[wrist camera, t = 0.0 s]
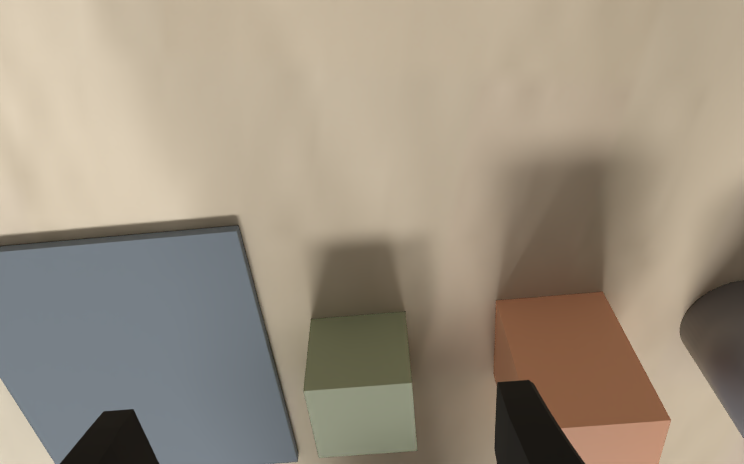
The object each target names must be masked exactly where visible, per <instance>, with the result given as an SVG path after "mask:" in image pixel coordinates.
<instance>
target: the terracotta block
mask: <svg viewBox="0 0 744 464" xmlns="http://www.w3.org/2000/svg"><path fill="white" fill-rule="evenodd" d="M494 377H495V381H496V385H497V382H506V381H519V380H530V381H531V382H532V383H534V385H535V386H536V388H537V390H538V392H539V394H540V395H541V397H542V399H543V401H544V402H545V404H546V406H547V407H548V409H549V410H550V412H551V414H552V415H553V417H554V418H555V420H556V422H557V423H558V425H559V426H560V428H561V429H562V431H563V432H564V434H565V435H566V437H567V438H568V440H569V441H570V443H571V444H572V446H573V447H574V449H575V450H576V451H577V453H578V454H579V456H580V457H581V458H582V460H583V461H584V463H585V464H659V460H660V457H661V453H662V450H663V446H664V443H665V439H666V436H667V432H668V429H669V426H670V422H671V419H670V417H669V416H668V414H667V412H666V410H665V408H664V406H663V404H662V402H661V401H660V399H659V397H658V395H657V393H656V391H655V389H654V387H653V385H652V384H651V382H650V380H649V378H648V376H647V374H646V372H645V370H644V369H643V367H642V365H641V363H640V361H639V359H638V357H637V355H636V353H635V352H634V350H633V348H632V346H631V344H630V342H629V340H628V338H627V337H626V335H625V333H624V331H623V329H622V327H621V325H620V323H619V321H618V320H617V318H616V316H615V314H614V312H613V310H612V308H611V306H610V305H609V303H608V301H607V299H606V297H605V295H604V293H603V292H594V293H581V294H569V295H557V296H544V297H532V298H520V299H508V300H496V315H495V348H494Z"/></svg>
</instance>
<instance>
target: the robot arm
mask: <svg viewBox="0 0 744 464" xmlns="http://www.w3.org/2000/svg"><path fill="white" fill-rule="evenodd" d="M495 454H496V460H497V464H585V463H584V461H583V460H582V458H581V457H580V456H579V454H578V453H577V451H576V450H575V449H574V447H573V446H572V444H571V443H570V441H569V440H568V438H567V437H566V435H565V434H564V432H563V431H562V429H561V428H560V426H559V425H558V423H557V422H556V420H555V418H554V417H553V415H552V414H551V412H550V410H549V409H548V407H547V406H546V404H545V402H544V401H543V399H542V397H541V395H540V394H539V392H538V390H537V388H536V386H535V385H534V383H532V382H531V381H530V380H519V381H506V382H497V398H496V423H495ZM60 464H159V462H158V460H157V458H156V456H155V454H154V451H153V449H152V447H151V445H150V443H149V441H148V439H147V437H146V435H145V432H144V430H143V428H142V426H141V424H140V422H139V420H138V418H137V416H136V413H135V411H134V409H127V410H114V411H103V413H102V414H101V415H100V416H99V417H98V418H97V420H96V421H95V422H94V423H93V424H92V425H91V427H90V428H89V429H88V430H87V431H86V432H85V434H84V435H83V436H82V437H81V439H80V440H79V441H78V442H77V443H76V445H75V446H74V447H73V448H72V449H71V451H70V452H69V453H68V454H67V455H66V457H65V458H64V459H63V460H62V461H61V463H60Z"/></svg>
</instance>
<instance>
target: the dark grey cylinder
mask: <svg viewBox="0 0 744 464" xmlns="http://www.w3.org/2000/svg"><path fill="white" fill-rule="evenodd" d="M680 337H681V340H682V342H683V344H684V345H685V347H686V348H687V350H688V351H689V353H690V355H691V356H692V358H693V359H694V361H695V362H696V364H697V366H698V367H699V369H700V370H701V372H702V374H703V375H704V377H705V378H706V380H707V381H708V383H709V385H710V386H711V388H712V389H713V391H714V392H715V394H716V396H717V397H718V399H719V400H720V402H721V404H722V405H723V407H724V408H725V410H726V411H727V413H728V415H729V416H730V418H731V419H732V421H733V422H734V424H735V426H736V427H737V429H738V430H739V432H740V433H741V435H742V437H743V438H744V280H743V281H736V282H732V283H729V284H725V285H723V286H720V287H718V288H716V289H714V290H712V291H710V292H708V293H707V294H705V295H703V296H702V297H701V298H699V299H698V300H697V301H696V302H695V303H694V304H693V305H692V306H691V307H690V308H689V309H688V311H687V312H686V314H685V315H684V317H683V319H682V322H681V325H680Z"/></svg>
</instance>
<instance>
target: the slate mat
mask: <svg viewBox="0 0 744 464" xmlns="http://www.w3.org/2000/svg"><path fill="white" fill-rule="evenodd" d="M0 378H1V380H2V381H3V383H4V384H5V386H6V387H7V389H8V391H9V392H10V394H11V395H12V397H13V398H14V400H15V402H16V403H17V405H18V406H19V408H20V409H21V411H22V412H23V414H24V416H25V417H26V419H27V420H28V422H29V423H30V425H31V427H32V428H33V430H34V431H35V433H36V434H37V436H38V438H39V439H40V441H41V442H42V444H43V445H44V447H45V449H46V450H47V452H48V453H49V455H50V456H51V458H52V459H53V461H54V463H55V464H60V463H61V461H62V460H63V459H64V458H65V457H66V455H67V454H68V453H69V452H70V451H71V449H72V448H73V447H74V446H75V445H76V443H77V442H78V441H79V440H80V439H81V437H82V436H83V435H84V434H85V432H86V431H87V430H88V429H89V428H90V427H91V425H92V424H93V423H94V422H95V421H96V420H97V418H98V417H99V416H100V415H101V414H102V413H103V411H114V410H127V409H134V411H135V413H136V416H137V418H138V420H139V422H140V424H141V426H142V428H143V430H144V432H145V435H146V437H147V439H148V441H149V443H150V445H151V447H152V449H153V451H154V454H155V456H156V458H157V460H158V462H159V464H275V463H289V462H298V452H297V448H296V444H295V440H294V436H293V432H292V429H291V425H290V421H289V417H288V413H287V409H286V406H285V402H284V398H283V394H282V390H281V387H280V383H279V379H278V375H277V371H276V367H275V364H274V360H273V356H272V352H271V348H270V344H269V341H268V337H267V333H266V329H265V325H264V322H263V318H262V314H261V310H260V306H259V302H258V299H257V295H256V291H255V287H254V283H253V279H252V276H251V272H250V268H249V264H248V260H247V257H246V253H245V249H244V245H243V241H242V237H241V234H240V230H239V226H227V227H215V228H204V229H192V230H181V231H170V232H158V233H147V234H135V235H124V236H113V237H101V238H90V239H78V240H67V241H56V242H44V243H33V244H21V245H10V246H0Z"/></svg>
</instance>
